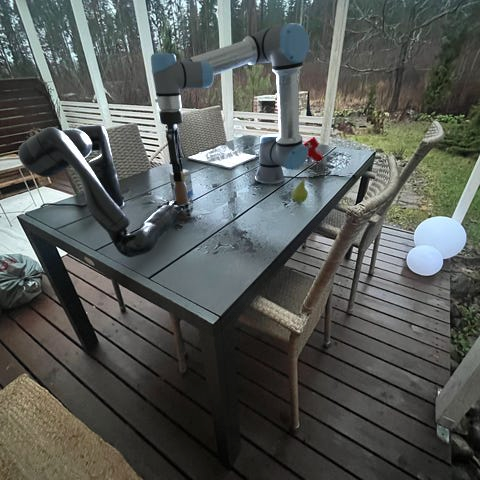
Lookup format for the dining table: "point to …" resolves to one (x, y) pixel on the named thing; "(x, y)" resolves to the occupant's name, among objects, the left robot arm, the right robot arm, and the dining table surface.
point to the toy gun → (313, 149)
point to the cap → (181, 175)
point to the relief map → (223, 157)
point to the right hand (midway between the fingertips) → (179, 178)
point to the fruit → (300, 192)
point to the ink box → (186, 180)
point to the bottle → (181, 195)
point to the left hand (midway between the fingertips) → (185, 200)
